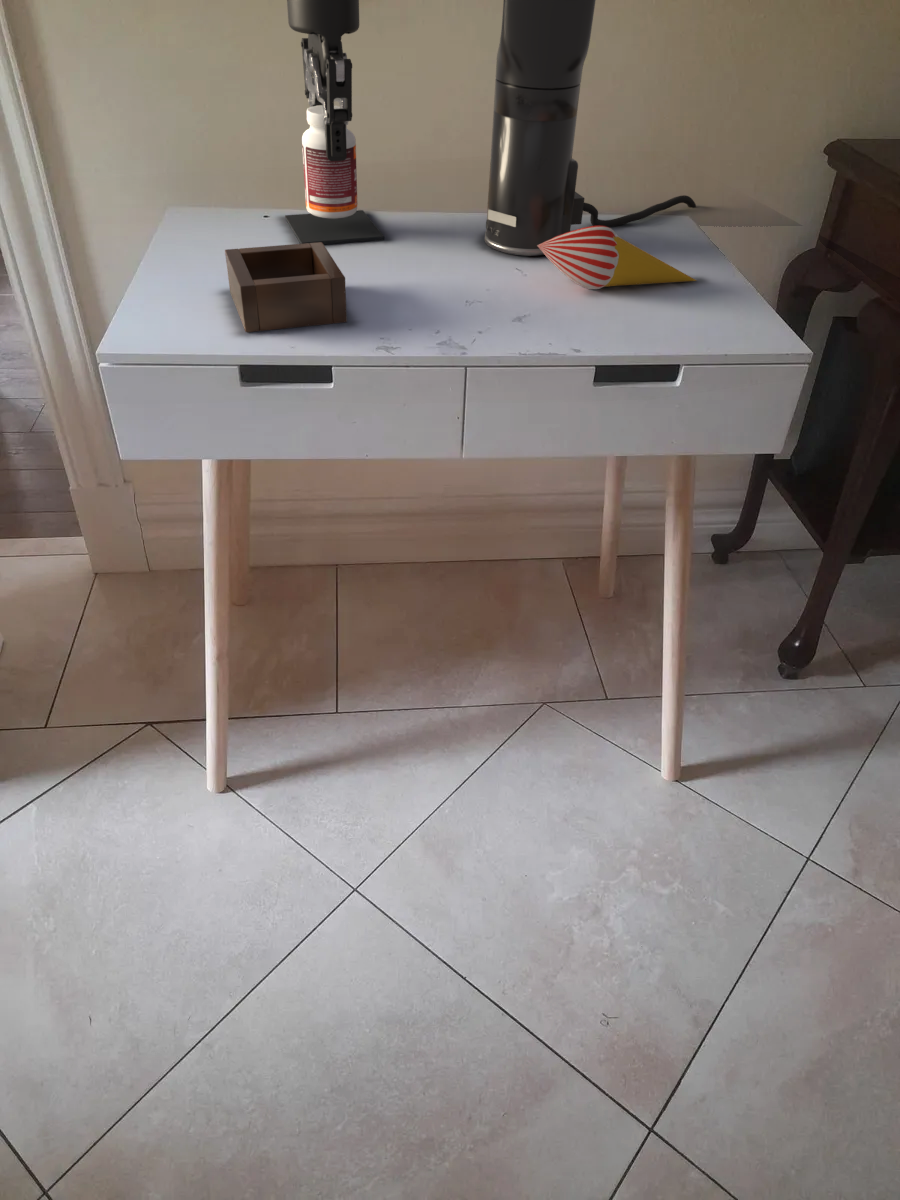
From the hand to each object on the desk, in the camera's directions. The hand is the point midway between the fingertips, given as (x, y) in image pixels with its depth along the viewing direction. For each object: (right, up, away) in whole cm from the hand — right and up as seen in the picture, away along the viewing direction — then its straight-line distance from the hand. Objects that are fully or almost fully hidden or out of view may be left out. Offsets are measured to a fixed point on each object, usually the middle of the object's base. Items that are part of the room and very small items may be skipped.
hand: (329, 151), depth 103 cm
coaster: (0, -7, +6) cm, 9 cm away
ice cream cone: (+32, -18, -5) cm, 37 cm away
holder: (-3, -22, -13) cm, 26 cm away
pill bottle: (0, -5, +4) cm, 7 cm away
